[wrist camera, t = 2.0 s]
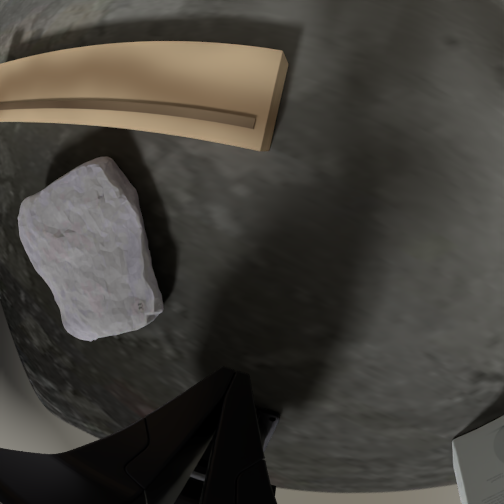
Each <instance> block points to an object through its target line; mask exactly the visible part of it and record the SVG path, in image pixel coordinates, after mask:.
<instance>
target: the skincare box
mask: <svg viewBox="0 0 504 504" xmlns="http://www.w3.org/2000/svg"><path fill="white" fill-rule="evenodd" d="M452 448H453V467H454V471H455V475H456V480H457V485H458V489H459V495H460V500H461V504H504V415H503V416H501V417H499V418H498V419H496V420H494V421H492V422H490V423H488V424H486V425H484V426H482V427H480V428H478V429H476V430H474V431H471V432H469V433H467V434H465V435H462V436H460V437H458V438H455V439H453V441H452Z"/></svg>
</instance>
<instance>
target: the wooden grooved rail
mask: <svg viewBox="0 0 504 504" xmlns="http://www.w3.org/2000/svg"><path fill="white" fill-rule="evenodd" d="M287 69H288V62H287V59H286V57H285V55H284V52H283V51H282V50H275V49H269V48H262V47H254V46H246V45H236V44H225V43H212V42H191V41H145V42H125V43H112V44H102V45H93V46H85V47H77V48H71V49H64V50H58V51H53V52H48V53H43V54H38V55H33V56H29V57H25V58H21V59H17V60H13V61H9V62H5V63H2V64H0V122H46V123H66V124H81V125H93V126H105V127H115V128H124V129H133V130H141V131H148V132H156V133H163V134H170V135H176V136H183V137H189V138H195V139H201V140H206V141H212V142H217V143H222V144H228V145H233V146H238V147H243V148H247V149H252V150H257V151H269V149H270V144H271V140H272V135H273V131H274V126H275V122H276V117H277V113H278V109H279V104H280V100H281V95H282V91H283V86H284V82H285V78H286V73H287Z"/></svg>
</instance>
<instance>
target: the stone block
mask: <svg viewBox="0 0 504 504" xmlns="http://www.w3.org/2000/svg"><path fill="white" fill-rule="evenodd" d="M18 225H19V235H20V239H21V241H22V244H23V246H24V248H25V251H26V252H27V254H28V256H29V258H30V261H31V262H32V264H33V266H34V268H35V270H36V271H37V272H38V273H39V275H40V276H41V277H42V278H43V279H44V280H45V282H46V283H47V284H48V286H49V287H50V289H51V290H52V292H53V294H54V298H55V301H56V303H57V304H58V306H59V308H60V311H61V317H62V322H63V325H64V327H65V329H66V330H67V331H68V333H70V334H71V335H73V336H74V337H76V338H79V339H82V340H88V341H92V340H96V339H97V338H101V337H106V336H111V335H118V334H121V333H125V332H129V331H133V330H138V329H140V328H142V327H144V326H146V325H147V324H149V323H150V322H152V321H153V320H155V318H156V317H157V316H158V315H159V314H160V313H161V312H163V310H164V306H163V301H162V294H161V292H160V290H159V288H158V284H157V279H156V278H155V274H154V270H153V268H152V263H151V259H152V258H151V256H150V250H149V248H148V239H147V235H146V232H145V228H144V221H143V217H142V213H141V210H140V206H139V198H138V194H137V190H136V189H135V188H134V187H133V186H132V184H131V183H130V182H129V181H128V179H127V177H126V176H125V175H124V173H123V172H122V171H121V170H120V168H119V167H118V166H117V164H116V163H115V162H114V160H113V159H111V158H109V157H99V158H96V159H93V160H91V161H88V162H86V163H84V164H82V165H80V166H78V167H76V168H75V169H73V170H71V171H70V172H68V173H67V174H65V175H63V176H62V177H60V178H59V179H57V180H56V181H54V182H53V183H51V184H50V185H48V186H47V187H46V188H45V189H44V190H42V191H40V192H38V193H37V194H35V195H33V196H30V197H27V198H26V199H24V201H23V202H22V203H21V206H20V213H19V215H18Z"/></svg>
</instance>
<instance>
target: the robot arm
mask: <svg viewBox="0 0 504 504" xmlns="http://www.w3.org/2000/svg"><path fill="white" fill-rule="evenodd" d="M272 417H274V418H272ZM279 418H280V415H279V414H278V413H277V412H274V411H270V410H266V409H263V408H259V407H256V406H255V404H254V398H253V393H252V387H251V381H250V376H249V375H248V374H246V373H243V372H240V371H236V372H235V370H234V369H230V368H227V367H221V368H219V369H218V370H216V371H215V372H213V373H212V374H211V375H209V376H208V377H206V378H205V379H203V380H202V381H200V382H199V383H197V384H196V385H194V386H193V387H191V388H189V389H188V390H186V391H185V392H183V393H182V394H180V395H179V396H177V397H176V398H174V399H172V400H171V401H169V402H168V403H166V404H165V405H163V406H161V407H160V408H158V409H157V410H155V411H153V412H152V413H150V414H148V415H147V416H145V418H142V419H140V420H138V421H137V422H135V423H133V424H131V425H130V426H128V427H126V428H124V429H122V430H120V431H118V432H116V433H114V434H111V435H109V436H107V437H105V438H102V439H100V440H97V441H94V442H92V443H89V444H87V445H84V446H81V447H79V448H76V449H73V450H70V451H67V452H64V453H58V454H40V453H31V452H23V451H16V450H9V449H3V448H0V504H277V502H276V499H275V491H276V486H274V485H271V484H270V480H269V475H268V471H267V466H266V461H265V460H264V459H265V457H264V451H265V449H266V447H267V445H268V443H269V441H270V439H271V437H272V434H273V432H274V430H275V428H276V426H277V424H278V422H279Z"/></svg>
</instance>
